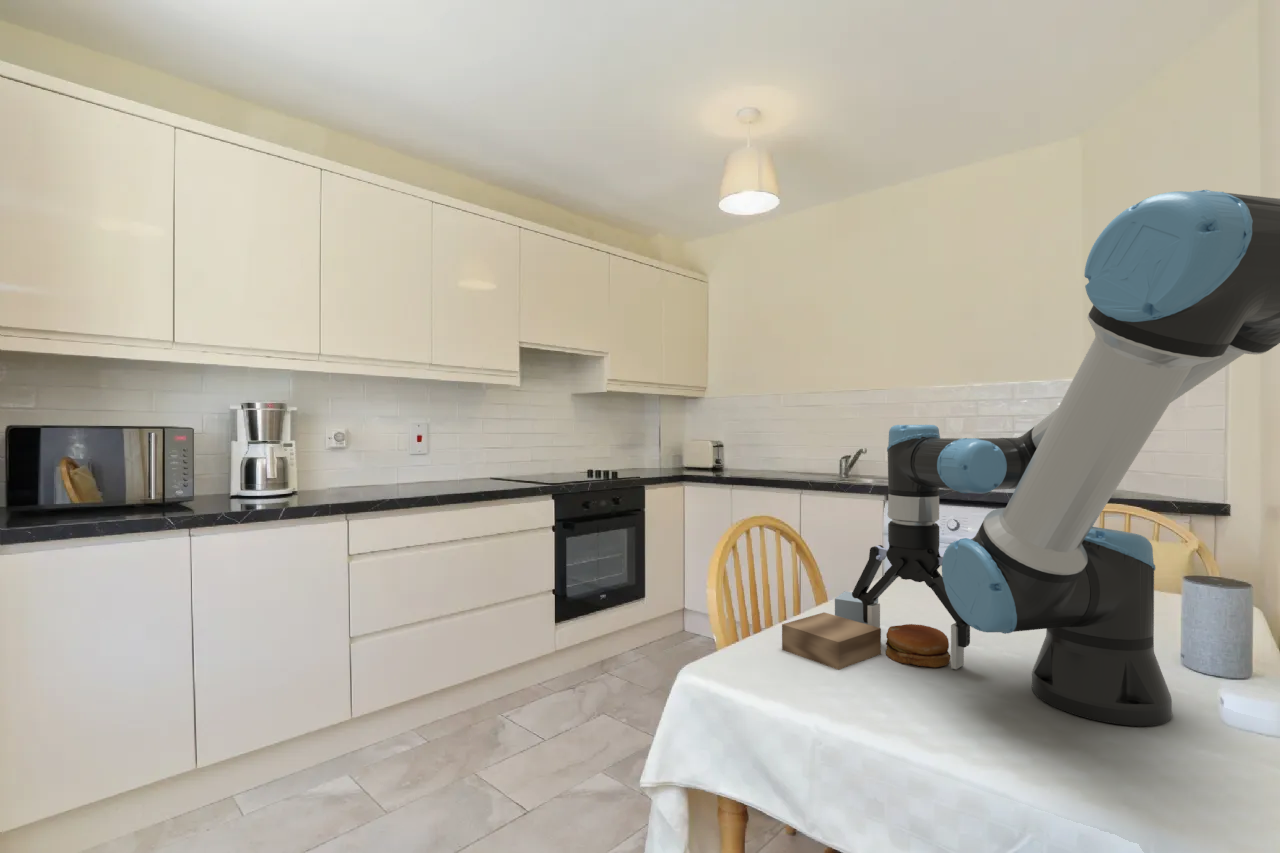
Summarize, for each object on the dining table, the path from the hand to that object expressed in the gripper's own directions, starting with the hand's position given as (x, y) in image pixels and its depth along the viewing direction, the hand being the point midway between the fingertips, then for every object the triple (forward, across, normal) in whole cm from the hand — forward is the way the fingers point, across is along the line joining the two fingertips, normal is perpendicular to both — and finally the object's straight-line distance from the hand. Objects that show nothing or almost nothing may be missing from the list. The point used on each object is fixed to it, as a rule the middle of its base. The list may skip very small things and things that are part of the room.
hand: (913, 654), depth 103 cm
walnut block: (0, +10, +8) cm, 13 cm away
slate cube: (0, +13, -5) cm, 14 cm away
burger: (0, -1, 0) cm, 1 cm away
